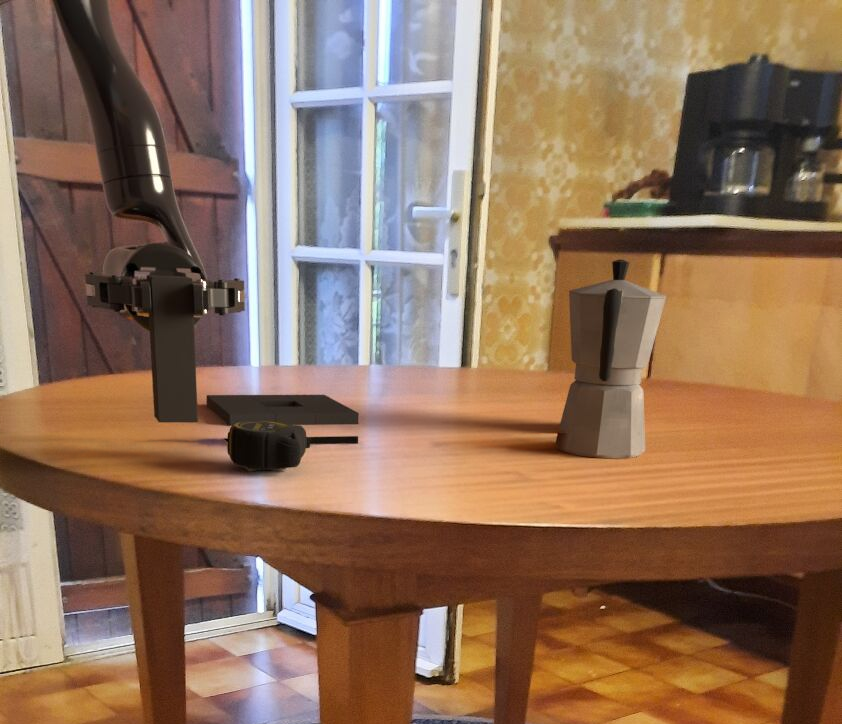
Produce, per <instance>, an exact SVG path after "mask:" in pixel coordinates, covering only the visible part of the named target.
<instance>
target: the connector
mask: <svg viewBox="0 0 842 724" xmlns="http://www.w3.org/2000/svg"><path fill="white" fill-rule="evenodd" d="M147 281H149V282H150V292H151V311H152V313H149V328H150V331H149V344H150V360H151V364H150V365H151V377H152V379H151V381H152V399H153V415H154V418H155V419H156V421H157V422H158V423H198V422H199V415H198V413H199V412H198V393H197V392H198V390H197V366H196V365H197V363H196V362H197V361H196V339H195V338H196V337H195V326H194V314H193V295H192V284H193V282H192V278H189V277H184V276H160V275H147Z"/></svg>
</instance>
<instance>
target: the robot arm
mask: <svg viewBox="0 0 842 724" xmlns="http://www.w3.org/2000/svg"><path fill="white" fill-rule="evenodd" d="M14 1H15V0H0V8H3V7H5V6H7V5H8V4H10V3H12V2H14ZM51 2H52V5H53V8H54V11H55V14H56V17H57V21H58V24H59V27H60V30H61V33H62V36H63V38H64V42H65V44H66V47H67V50H68V53H69V56H70V58H71V61H72V64H73V67H74V71H75V74H76V77H77V80H78V83H79V87H80V88H81V89H80V90H81V94H82V96H83V100H84V104H85V107H86V112H87V114H88V115H87V116H88V119H89V124H90V129H91V134H92V138H93V143H94V149H95V154H96V159H97V165H98V169H99V175H100V180H101V184H102V190H103V195H104V198H105V199H104V200H105V203H106V206H107V209H108V212H109V213H110V214H111V215H112V216H114V217H115V218H117V219H121V220H128V221H134V222H141V223H146V224H150V225H152V226H153V227H155V228H156V229H158V230H159V232H160V233H161V234H162V236H163V238H164V240H165V241H163V242H161V241H160V242H152V243H151V242H150V243H142V244H137V245H136V244H131V245H122V246H116V247H114V248H112V249H110V250H109V251H108V253H107V254H106V256H105V258H104V261H103V265H102V274H98V273H96V272H94V271H89V273H84V276H85V277H84V279H85V292H86V304H87V306H90V307H91V308H100V309H106V310H110V311H111V310H112V311H113V312H114V313H115V312H116V313H117V314H118V315H119V316H120V317H121V318H122V319H124V320H128V321H135V322H136V323H137V324H138V325H139V326H140V327H142V328H143V329H144V330H146V331H148V332H150V328H149V313H152V311H151V292H150V282H149V281H147V275H160V276H184V277H189V278H192V282H193V284H192V295H193V314H194V327H195V326H196V325H197V324H198V322H199V321H200V320H201V318H202V317H203V316H205V314H209V311H210V310H212V308H214V314H218V316H226V315H229V314H235V313H242V312H245V311H246V308H245V307H246V305H245V301H246V299H245V298H246V297H245V295H246V294H245V280H241V278H233V279H226V280H225V279H217V280H216V281H212V280H211V279H208V277H207V273H206V270H205V267H204V265H203V262H202V260H201V257H200V256H199V253H198V251H197V248H196V247H195V245H194V243H193V240H192V238H191V236H190V234H189V231H188V229H187V227H186V224H185V222H184V219H183V216H182V213H181V210H180V207H179V204H178V200H177V198H176V192H175V187H174V183H173V178H172V171H171V165H170V160H169V153H168V149H167V142H166V139H165V138H166V137H165V132H164V129H163V125H162V122H161V118H160V116H159V113H158V110H157V108H156V106H155V104H154V101H153V100H152V98H151V95H150V94H149V92H148V91H147V89H146V87H145V86H144V84H143V83H142V81H141V78H139V76H138V75H137V73H136V72H135V70H134V68H133V66H132V64H131V63H130V61H129V60H128V58H127V56H126V54H125V52H124V50H123V48H122V46H121V44H120V42H119V40H118V37H117V34H116V31H115V28H114V25H113V21H112V17H111V16H112V15H111V11H110V10H111V9H110V3H109V0H51Z"/></svg>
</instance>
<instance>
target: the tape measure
mask: <svg viewBox="0 0 842 724" xmlns="http://www.w3.org/2000/svg"><path fill="white" fill-rule="evenodd" d="M311 437H312V436H307V431H306V429H305V428H304V427H303V425H285V424H281V423H275V422H267V421H246V422H239V423H236V424H234V425H232V426H230V428H229V431H228V432H227V437H226V438H227V442H226V449H227V454H228V456H229V459H230V461H231V462H232V463H233V464H234V465H236V466H240V467H243V468H245V469H246V471H248V472H253V471H258V470H263V471H265V470H282V471H284V472H285V471H287V469H290V468H296V467H298V466H299V465H300V464H301V460H302V458H303V457H304V455H305V453H306V450H307V449H310V447H311V444H310V443H309V441H310V439H311Z"/></svg>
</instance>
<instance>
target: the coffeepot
mask: <svg viewBox="0 0 842 724" xmlns="http://www.w3.org/2000/svg"><path fill="white" fill-rule="evenodd" d="M611 265H612V267H611V268H612V276H613V277H612V279H611V280H607V281H602V282H599V283H593V284H590V285H586V286H583V287H578V288H574V289H570V290H568V300H569V302H568V303H569V325H570V326H569V327H570V328H569V329H570V352H571V361H572V362H573V363H574V364H575V370H574V381H573V382H572V383H570V384H569V389H568V392H567V396H566V400H565V404H564V408H563V411H562V416H561V418H560V423H559V427H558V429H559V430H560V431H562V432H557V435H556V438H555V442H554V445H555V447H556V448H557V449H558V450H559V451H561V452H563V453H566V454H570V455H573V456H574V455H575V456H580V457H587V458H598V459H631V458H637V457H640V456H641V455H642V454H643V453H645V452H646V430H645V429H646V428H645V426H646V425H645V403H644V401H645V399H644V395H645V394H644V389H643V387H642V385H640V384H641V383H642V376H643V368H645V367H647V366H648V365H649V362H650V358H651V354H652V351H653V348H654V344H655V340H656V336H657V333H658V329H659V325H660V321H661V317H662V314H663V310H664V306H665V303H666V299H667V295H664V294H662V293H660V292H658V291H657V292H656V291H654V290H651V289H649V288H646V287H643V286H641V285H638V284H636V283H632V282H630V281H628V280H626V278H627V277H626V276H627V273H628V269H629V266H630V261H627V260H626V259H622V258H621V259H620V258H618V259H616V260H613V261H612V262H611ZM639 455H640V456H639ZM636 456H637V457H636Z"/></svg>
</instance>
